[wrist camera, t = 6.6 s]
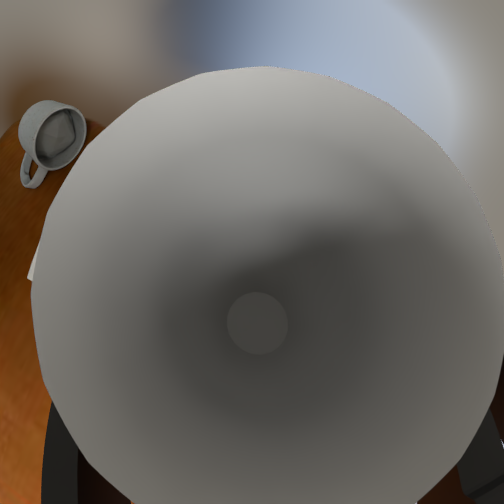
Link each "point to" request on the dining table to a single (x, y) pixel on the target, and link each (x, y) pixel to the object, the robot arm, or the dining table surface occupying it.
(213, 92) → the chalice
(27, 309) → the dining table surface
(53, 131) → the ceramic mug
